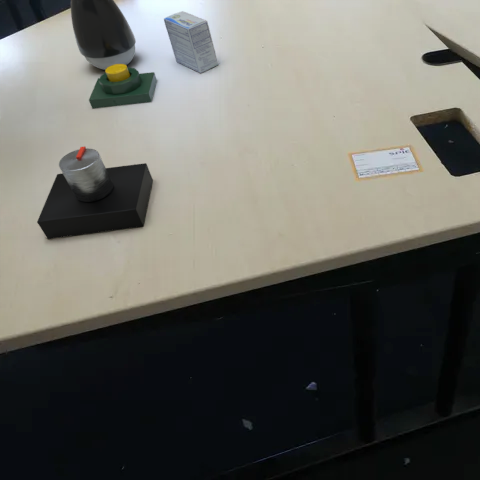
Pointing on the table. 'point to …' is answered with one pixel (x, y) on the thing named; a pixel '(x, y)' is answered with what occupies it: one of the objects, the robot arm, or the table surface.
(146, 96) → the button housing
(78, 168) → the knob
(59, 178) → the dial panel
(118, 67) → the yellow push button
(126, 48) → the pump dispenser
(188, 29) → the medicine box
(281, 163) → the table surface
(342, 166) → the table surface
